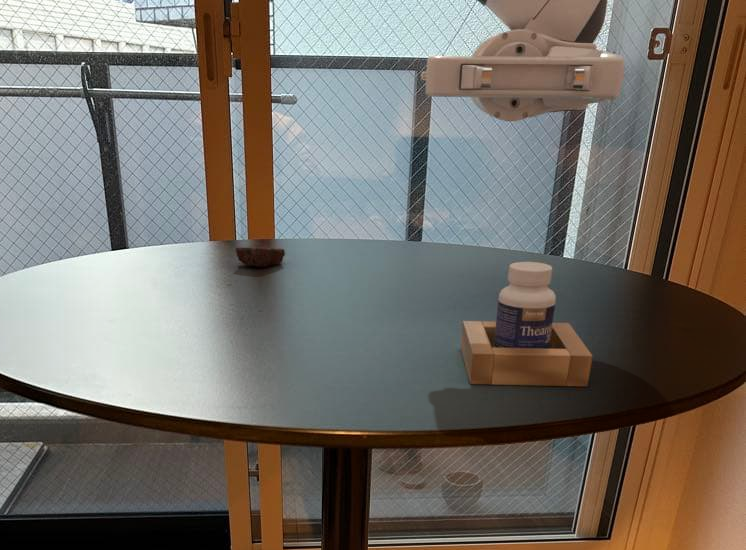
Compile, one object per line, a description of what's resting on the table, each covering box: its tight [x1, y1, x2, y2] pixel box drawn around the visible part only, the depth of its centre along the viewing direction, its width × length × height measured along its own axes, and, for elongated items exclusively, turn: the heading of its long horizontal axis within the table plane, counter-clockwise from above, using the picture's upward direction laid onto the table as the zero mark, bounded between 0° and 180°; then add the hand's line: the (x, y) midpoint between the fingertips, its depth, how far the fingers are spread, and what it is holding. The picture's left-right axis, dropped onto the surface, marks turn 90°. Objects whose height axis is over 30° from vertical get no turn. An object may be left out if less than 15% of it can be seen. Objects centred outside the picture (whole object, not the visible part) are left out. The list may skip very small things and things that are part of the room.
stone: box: [235, 246, 286, 268], centre depth 119 cm, size 7×7×3 cm
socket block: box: [460, 320, 593, 388], centre depth 79 cm, size 11×11×3 cm
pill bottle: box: [493, 261, 557, 349], centre depth 78 cm, size 5×5×10 cm
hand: (532, 78), depth 78 cm, fingers open, 8 cm apart
